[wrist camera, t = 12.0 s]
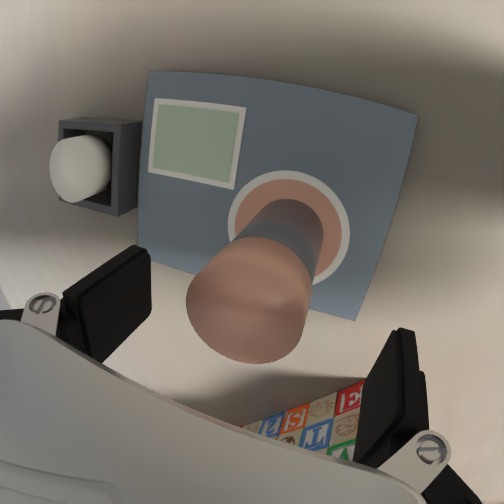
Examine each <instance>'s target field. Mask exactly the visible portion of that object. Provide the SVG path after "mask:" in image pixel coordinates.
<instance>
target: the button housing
mask: <svg viewBox="0 0 504 504" xmlns="http://www.w3.org/2000/svg"><path fill="white" fill-rule="evenodd" d="M141 125H142V122H140V121H128V120H115V119H98V118H74V119H67V120H60V121H59V139H58V142H59V141H61V140H63V139H67V138H72V137H77V136H82V135H84V130H95V131H107V132H114V136H113V154H112V188H111V194H110V193H106V192H100V193H98V194H95V195H93V196H90V197H88V198H85V199H83V200H81V201H78V202H75V203H71V202H67V201H65V200H64V199H62V198H61V197H60V196H59V200H60V201H63V202H67V203H71V204H74V205H78V206H81V207H85V208H88V209H92V210H96V211H99V212H103V213H106V214H110V215H113V216H117V217H118V216H120V215H122V214H124V213H126V212H128V211H130V210H132V209H134V208H136V207H137V182H138V163H139V149H140V136H141Z"/></svg>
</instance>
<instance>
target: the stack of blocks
mask: <svg viewBox="0 0 504 504" xmlns="http://www.w3.org/2000/svg"><path fill="white" fill-rule="evenodd" d="M365 380H366V379H365ZM365 380H363V381H361V382H359V383H357V384H355V385H353V386H351V387H348V388H346V389H344V390H341V391H340V392H335V393H332V394H330V395H327V396H325V397H322V398H320V399H317V400H315V401H313V402H311V403H307V404H304V405H302V406H299V407H296V408H293V409H291V410H288V411H286V412H284V413H281V414H278V415H275V416H272V417H269V418H266V419H264V420H261V421H257V422H254V423H251V424H248V425H245V426H240V428H242V429H245V430H248V431H251V432H254V433H257V434H259V435H262V436H265V437H268V438H272V439H275V440H278V441H281V442H284V443H288V444H291V445H294V446H298V447H301V448H304V449H308V450H311V451H315V452H318V453H322V454H326V455H329V456H333V457H337V458H341V459H345V460H348V461H352V460H353V454H354V448H355V441H356V435H357V428H358V420H359V413H360V404H361V396H362V388H363V384H364V382H365Z"/></svg>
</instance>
